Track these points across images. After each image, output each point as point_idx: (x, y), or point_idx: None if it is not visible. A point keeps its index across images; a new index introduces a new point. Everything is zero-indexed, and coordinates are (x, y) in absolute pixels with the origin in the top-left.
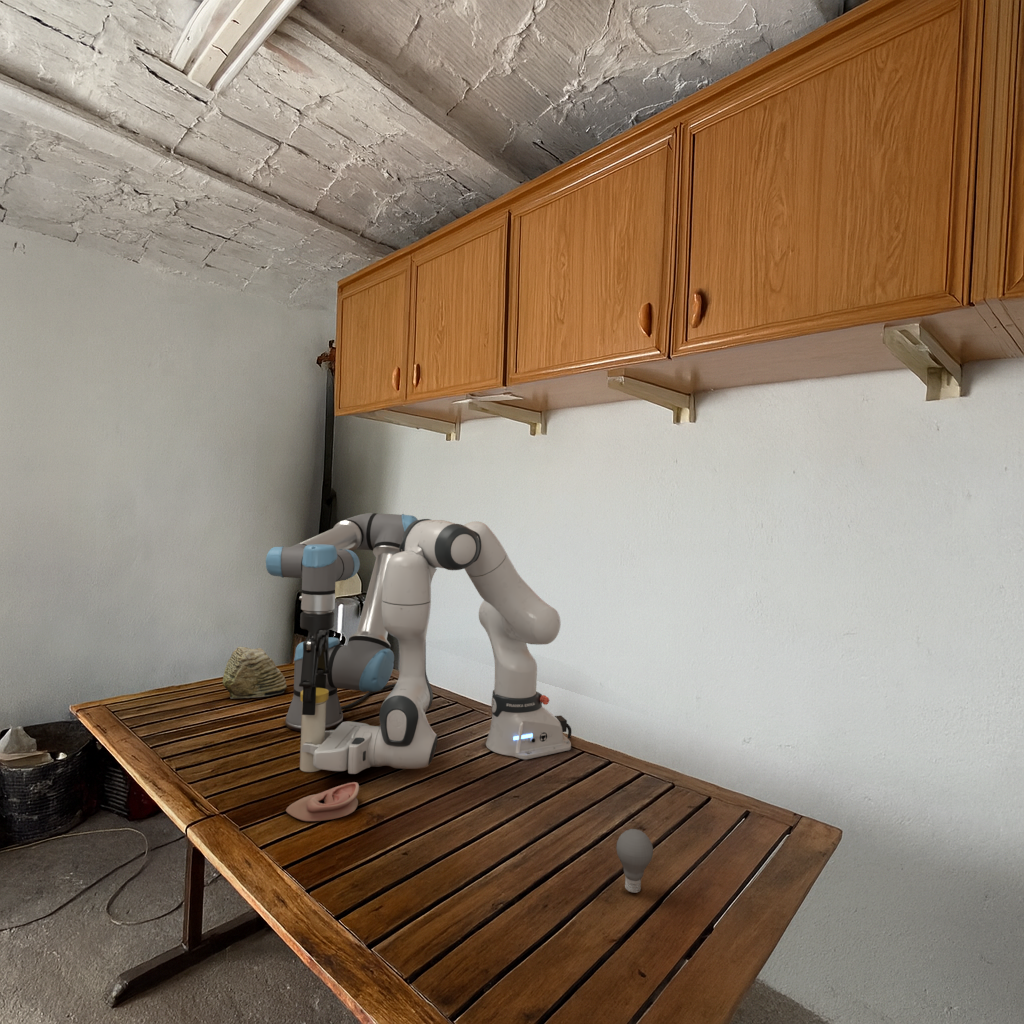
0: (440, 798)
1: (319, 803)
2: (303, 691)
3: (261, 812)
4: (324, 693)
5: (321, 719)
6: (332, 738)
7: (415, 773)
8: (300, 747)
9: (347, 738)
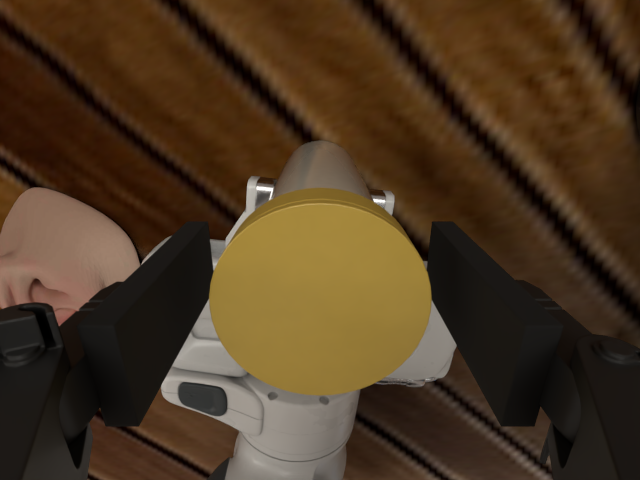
0: (188, 470)
1: (15, 286)
2: (109, 299)
3: (11, 120)
4: (285, 380)
5: None
6: None
7: None
8: (301, 154)
9: None
